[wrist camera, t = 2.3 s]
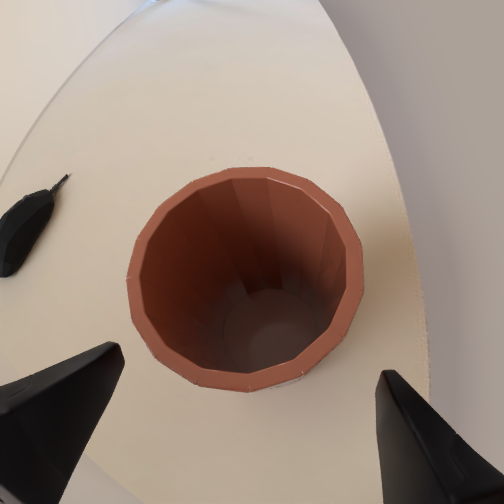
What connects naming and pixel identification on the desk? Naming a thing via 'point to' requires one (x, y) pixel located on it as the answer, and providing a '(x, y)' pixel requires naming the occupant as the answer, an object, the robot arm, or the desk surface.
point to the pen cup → (245, 279)
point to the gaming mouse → (23, 227)
